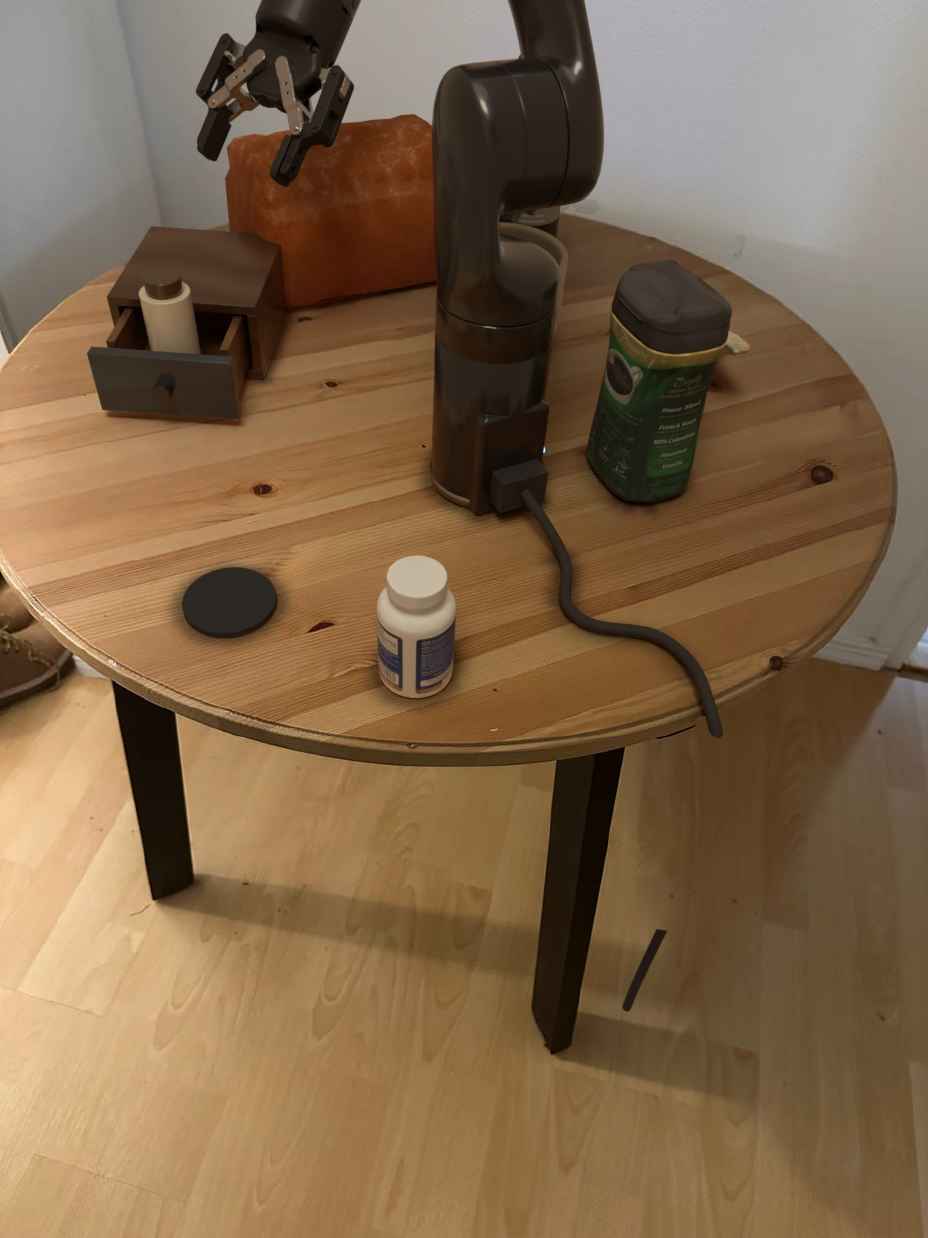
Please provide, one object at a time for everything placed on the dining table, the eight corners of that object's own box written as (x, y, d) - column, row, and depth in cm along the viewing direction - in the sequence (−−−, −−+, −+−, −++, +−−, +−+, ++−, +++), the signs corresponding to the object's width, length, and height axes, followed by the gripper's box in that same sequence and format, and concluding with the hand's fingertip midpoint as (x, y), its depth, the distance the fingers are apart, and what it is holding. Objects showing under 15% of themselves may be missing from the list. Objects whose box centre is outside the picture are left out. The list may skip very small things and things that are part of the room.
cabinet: (263, 380, 94) (255, 306, 88) (124, 370, 94) (106, 296, 88) (290, 305, 104) (284, 235, 98) (164, 296, 104) (150, 225, 98)
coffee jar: (700, 496, 84) (757, 302, 71) (621, 515, 82) (665, 318, 69) (647, 434, 90) (690, 244, 77) (572, 450, 88) (603, 257, 75)
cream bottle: (210, 383, 89) (193, 282, 82) (163, 393, 88) (142, 292, 80) (197, 359, 92) (179, 260, 84) (151, 369, 90) (129, 269, 83)
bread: (476, 278, 109) (483, 143, 99) (271, 318, 101) (256, 176, 90) (414, 217, 120) (415, 88, 109) (224, 249, 111) (205, 113, 101)
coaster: (289, 620, 72) (289, 615, 71) (198, 649, 69) (197, 644, 69) (259, 562, 76) (258, 556, 76) (172, 587, 74) (170, 582, 73)
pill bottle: (456, 648, 71) (462, 551, 64) (448, 704, 67) (454, 608, 60) (384, 640, 71) (382, 543, 64) (372, 696, 67) (369, 600, 60)
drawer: (235, 427, 87) (227, 370, 82) (97, 417, 87) (81, 360, 82) (267, 342, 97) (261, 287, 92) (143, 333, 97) (131, 278, 92)
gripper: (228, -53, 82) (155, 126, 84) (360, -21, 77) (280, 168, 79) (275, 5, 89) (207, 169, 91) (398, 38, 84) (324, 210, 86)
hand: (241, 168), depth 85 cm, fingers open, 8 cm apart
